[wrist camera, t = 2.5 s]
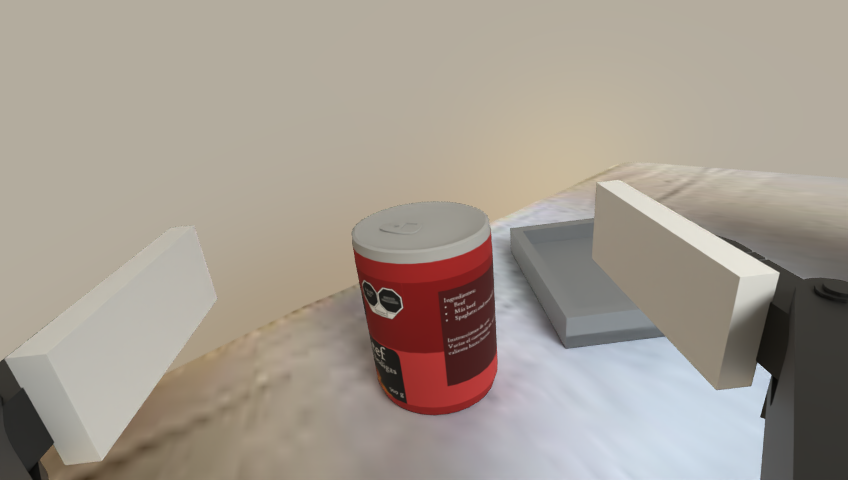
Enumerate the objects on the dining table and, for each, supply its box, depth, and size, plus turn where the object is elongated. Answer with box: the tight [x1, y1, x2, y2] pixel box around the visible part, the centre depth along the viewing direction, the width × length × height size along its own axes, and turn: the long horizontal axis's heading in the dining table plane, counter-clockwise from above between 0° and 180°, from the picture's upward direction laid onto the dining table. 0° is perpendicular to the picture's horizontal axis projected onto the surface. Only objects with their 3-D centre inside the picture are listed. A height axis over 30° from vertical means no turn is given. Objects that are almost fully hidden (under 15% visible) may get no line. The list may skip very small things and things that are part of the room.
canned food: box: [352, 202, 497, 415], centre depth 28 cm, size 8×8×11 cm
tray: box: [510, 218, 665, 349], centre depth 38 cm, size 16×16×2 cm
